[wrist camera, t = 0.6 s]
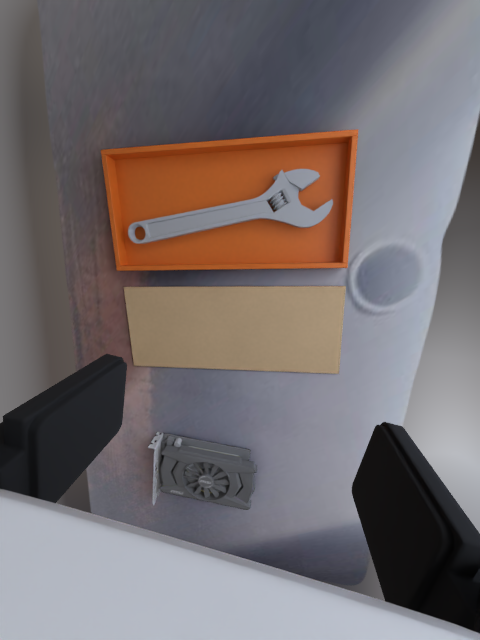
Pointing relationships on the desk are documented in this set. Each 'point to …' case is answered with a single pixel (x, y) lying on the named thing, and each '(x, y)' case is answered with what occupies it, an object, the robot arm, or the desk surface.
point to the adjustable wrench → (242, 211)
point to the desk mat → (237, 327)
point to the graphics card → (203, 471)
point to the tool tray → (231, 201)
